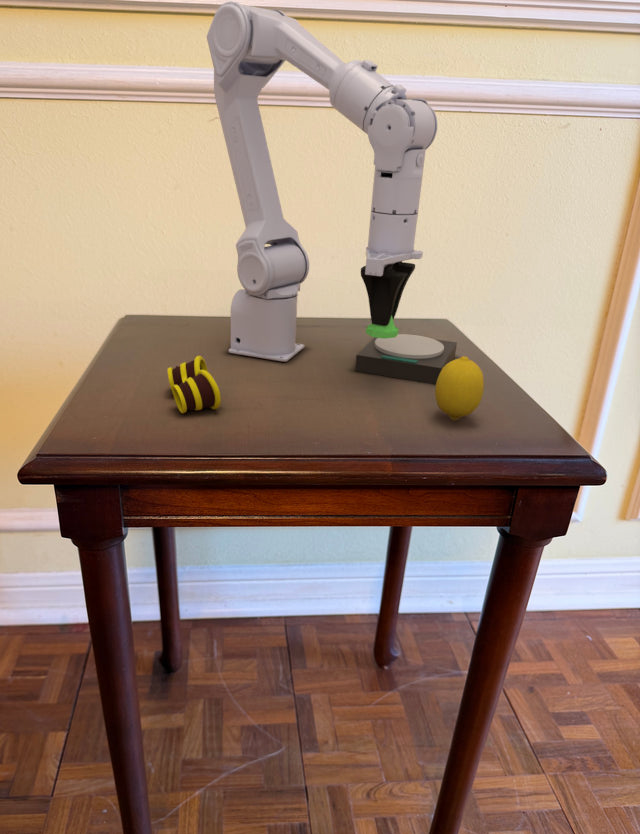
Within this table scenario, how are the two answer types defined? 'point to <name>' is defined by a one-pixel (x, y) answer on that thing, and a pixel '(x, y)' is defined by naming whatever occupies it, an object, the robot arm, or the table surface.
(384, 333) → the game piece
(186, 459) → the table surface
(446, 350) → the scale
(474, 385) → the lemon
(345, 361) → the table surface
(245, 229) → the robot arm
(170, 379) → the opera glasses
